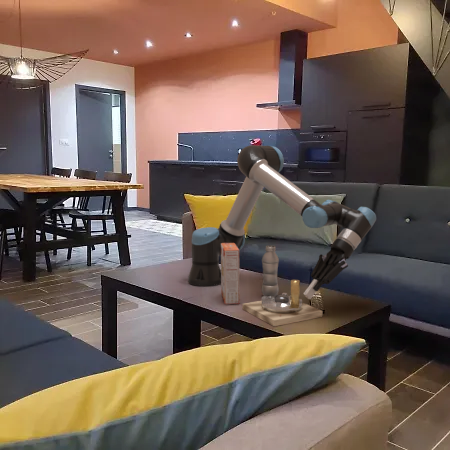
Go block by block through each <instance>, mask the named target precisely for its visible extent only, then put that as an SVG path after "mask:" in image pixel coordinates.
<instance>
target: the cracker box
mask: <svg viewBox="0 0 450 450" xmlns="http://www.w3.org/2000/svg"><path fill="white" fill-rule="evenodd" d="M220 270H221V284H220V285H221V286H220V288H221V290H220V291H221V296H222V300H223V302H224V305H239V304H240V250H239V249H238V247H237V246H236V244H235V243H221V256H220Z"/></svg>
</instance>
